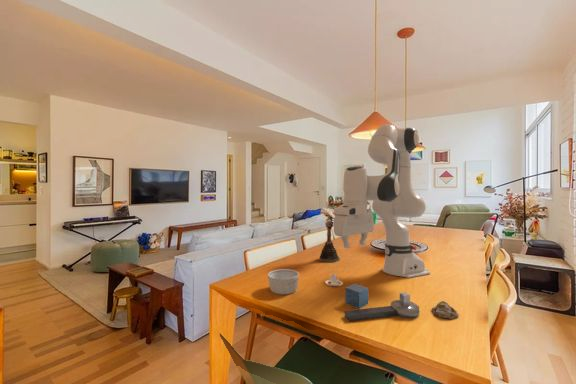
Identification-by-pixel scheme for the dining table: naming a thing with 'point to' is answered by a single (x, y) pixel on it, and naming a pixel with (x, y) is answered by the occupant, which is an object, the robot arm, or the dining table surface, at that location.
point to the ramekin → (283, 281)
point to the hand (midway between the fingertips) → (354, 245)
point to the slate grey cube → (356, 296)
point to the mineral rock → (445, 311)
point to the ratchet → (386, 310)
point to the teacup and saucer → (334, 280)
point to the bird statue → (329, 238)
